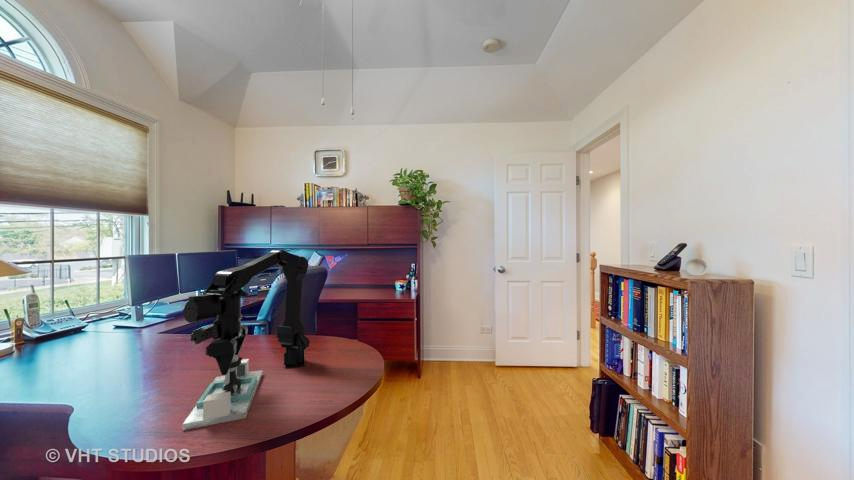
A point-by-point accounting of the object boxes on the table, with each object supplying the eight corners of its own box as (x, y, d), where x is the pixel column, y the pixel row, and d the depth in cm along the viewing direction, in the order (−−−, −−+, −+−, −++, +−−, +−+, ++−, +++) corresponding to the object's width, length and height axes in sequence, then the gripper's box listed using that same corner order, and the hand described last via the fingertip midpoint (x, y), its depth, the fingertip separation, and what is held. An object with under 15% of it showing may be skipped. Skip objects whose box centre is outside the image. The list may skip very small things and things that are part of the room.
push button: (229, 399, 81) (229, 362, 81) (211, 398, 81) (211, 362, 81) (246, 387, 87) (246, 353, 88) (229, 386, 88) (229, 353, 88)
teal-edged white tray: (262, 374, 99) (262, 366, 99) (245, 418, 74) (245, 407, 74) (216, 381, 94) (216, 373, 94) (182, 430, 70) (182, 419, 70)
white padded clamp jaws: (248, 372, 98) (248, 358, 98) (227, 415, 73) (227, 397, 73) (231, 374, 96) (231, 361, 96) (203, 420, 71) (203, 401, 71)
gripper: (206, 309, 90) (206, 360, 90) (181, 325, 73) (180, 388, 73) (248, 306, 94) (248, 355, 94) (233, 321, 77) (233, 380, 77)
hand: (228, 368), depth 84 cm, fingers open, 9 cm apart
